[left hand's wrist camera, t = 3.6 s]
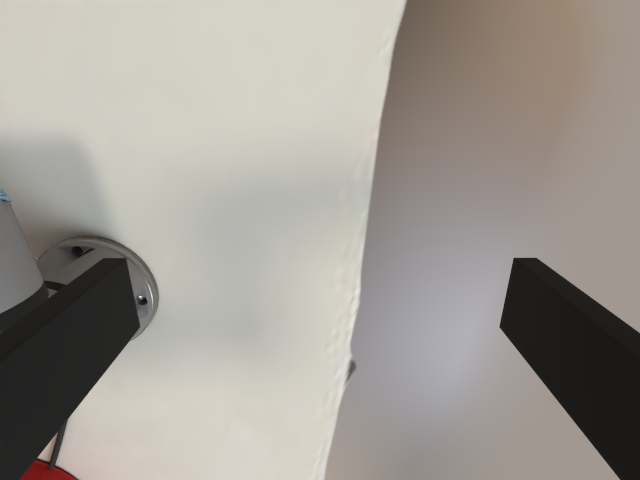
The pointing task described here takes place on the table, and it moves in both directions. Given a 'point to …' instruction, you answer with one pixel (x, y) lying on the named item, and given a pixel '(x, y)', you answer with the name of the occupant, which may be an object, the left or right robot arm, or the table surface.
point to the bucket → (45, 472)
